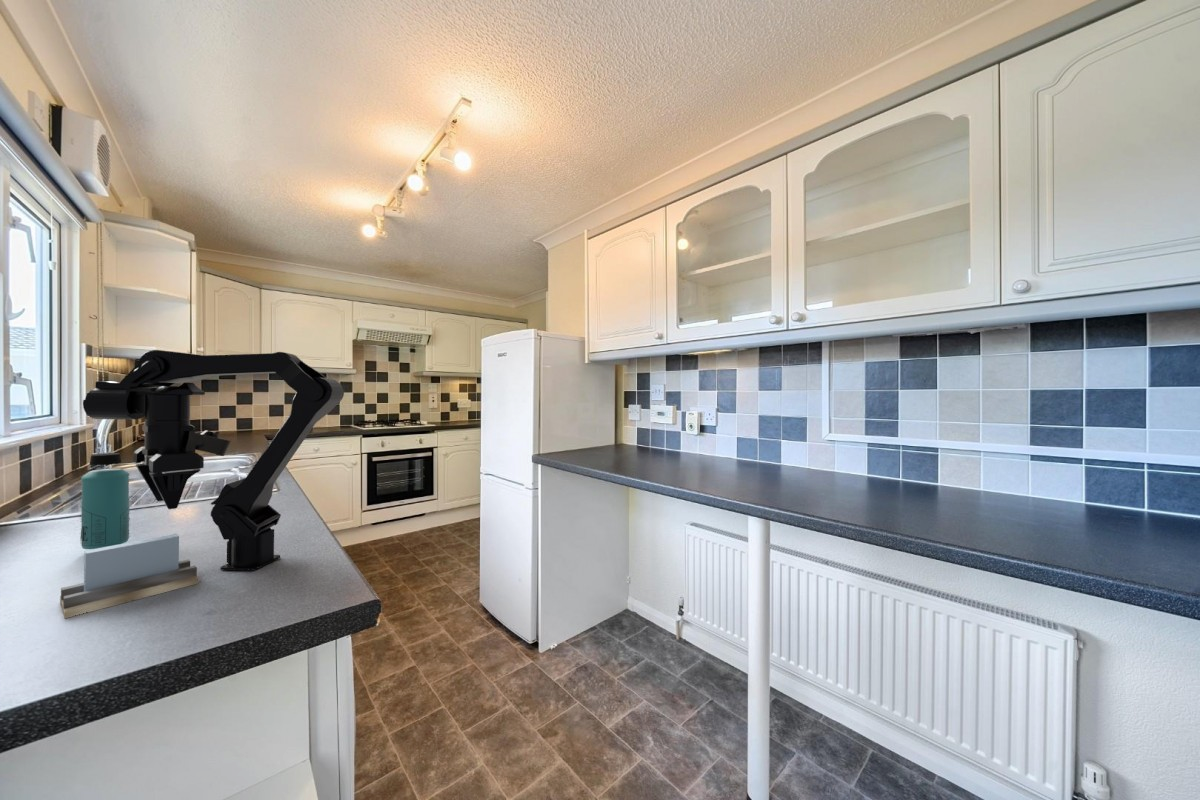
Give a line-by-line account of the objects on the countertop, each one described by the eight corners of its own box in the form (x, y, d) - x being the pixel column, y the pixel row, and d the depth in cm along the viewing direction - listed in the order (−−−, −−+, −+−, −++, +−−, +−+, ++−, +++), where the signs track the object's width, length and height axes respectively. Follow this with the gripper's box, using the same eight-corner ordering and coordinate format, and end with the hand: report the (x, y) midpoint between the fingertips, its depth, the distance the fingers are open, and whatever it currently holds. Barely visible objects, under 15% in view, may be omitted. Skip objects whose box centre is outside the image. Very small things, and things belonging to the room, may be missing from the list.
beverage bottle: (139, 546, 86) (140, 451, 86) (97, 558, 80) (99, 455, 80) (112, 544, 87) (113, 450, 87) (68, 556, 80) (70, 454, 80)
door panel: (175, 573, 72) (176, 533, 72) (178, 576, 70) (179, 536, 70) (83, 595, 63) (84, 550, 63) (85, 599, 62) (85, 553, 62)
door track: (186, 571, 75) (186, 557, 75) (198, 583, 70) (198, 568, 70) (60, 601, 63) (60, 585, 63) (64, 618, 59) (64, 601, 59)
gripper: (241, 420, 77) (240, 503, 77) (212, 416, 87) (211, 489, 87) (154, 422, 67) (152, 517, 68) (133, 418, 78) (132, 499, 78)
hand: (166, 504), depth 75 cm, fingers open, 9 cm apart
